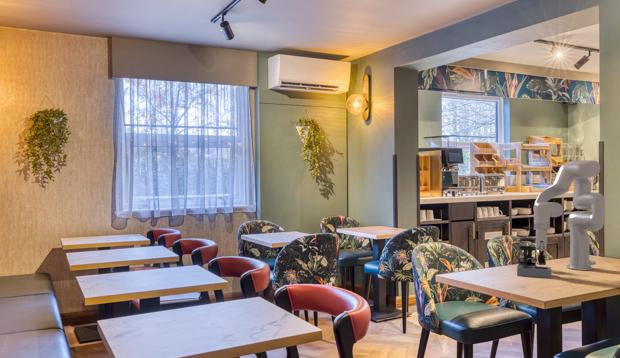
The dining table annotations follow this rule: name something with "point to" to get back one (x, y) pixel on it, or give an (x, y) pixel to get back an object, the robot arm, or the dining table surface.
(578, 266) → the robot arm
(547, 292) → the dining table surface
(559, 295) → the dining table surface
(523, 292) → the dining table surface
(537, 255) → the brass fitting
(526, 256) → the french press
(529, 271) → the block
